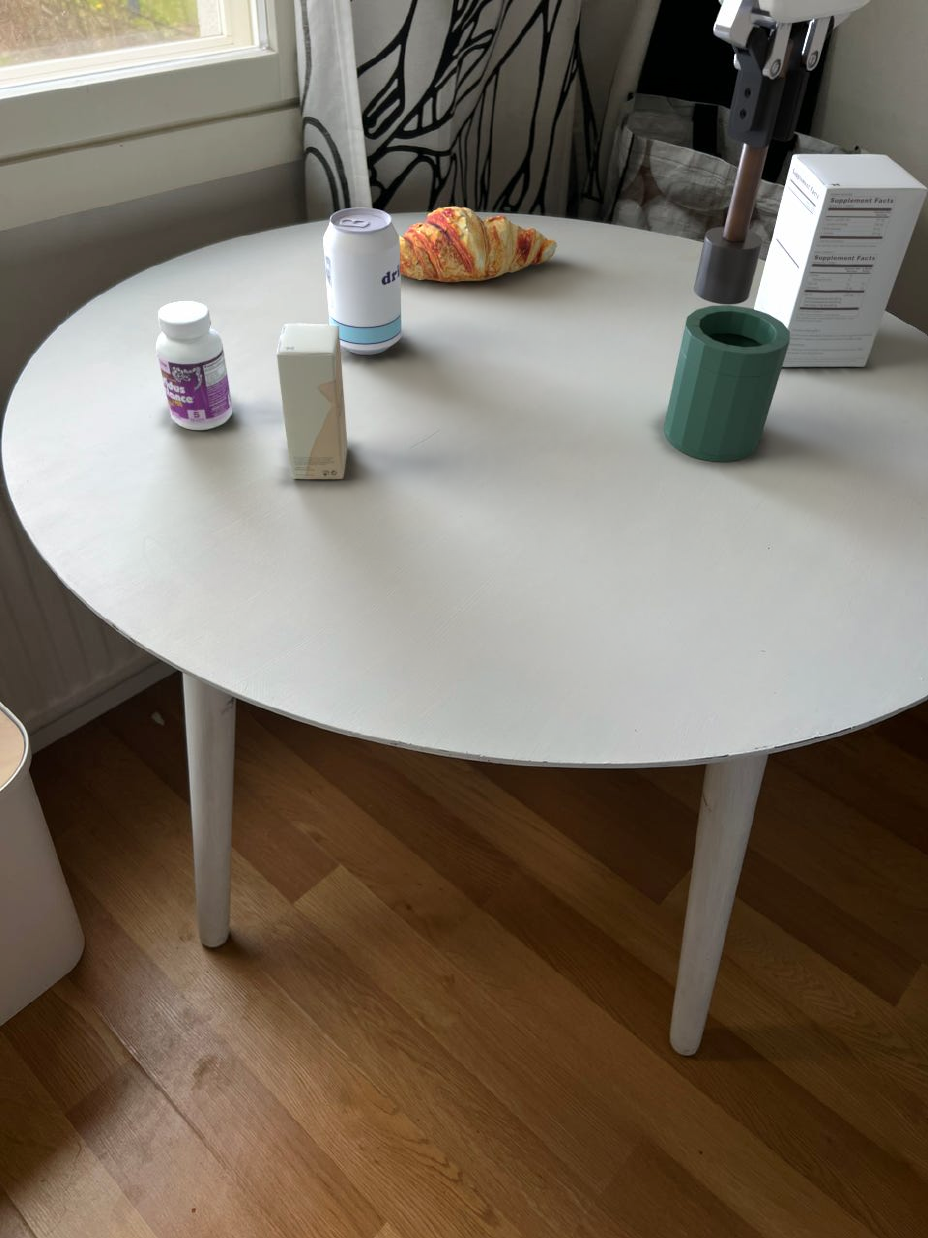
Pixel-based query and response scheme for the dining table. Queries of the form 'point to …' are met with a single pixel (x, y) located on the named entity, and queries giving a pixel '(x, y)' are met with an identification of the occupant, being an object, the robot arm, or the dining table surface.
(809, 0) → the robot arm
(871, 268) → the supplement box
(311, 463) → the box
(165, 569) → the dining table surface
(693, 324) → the jar
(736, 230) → the dowel with disc base
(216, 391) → the pill bottle
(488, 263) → the croissant
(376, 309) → the beverage can
